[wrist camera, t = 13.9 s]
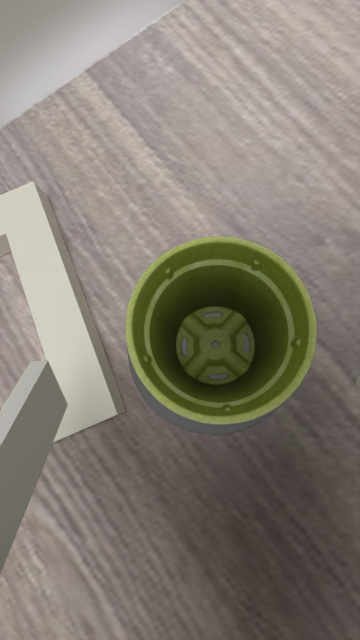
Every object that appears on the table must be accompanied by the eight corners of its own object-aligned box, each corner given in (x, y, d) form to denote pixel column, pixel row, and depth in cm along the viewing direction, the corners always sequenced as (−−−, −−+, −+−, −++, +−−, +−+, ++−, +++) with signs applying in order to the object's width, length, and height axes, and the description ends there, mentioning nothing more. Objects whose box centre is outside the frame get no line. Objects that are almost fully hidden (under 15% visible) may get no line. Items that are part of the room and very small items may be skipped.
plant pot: (157, 414, 23) (130, 432, 15) (148, 292, 25) (119, 246, 17) (285, 403, 23) (334, 415, 14) (266, 279, 24) (299, 224, 16)
